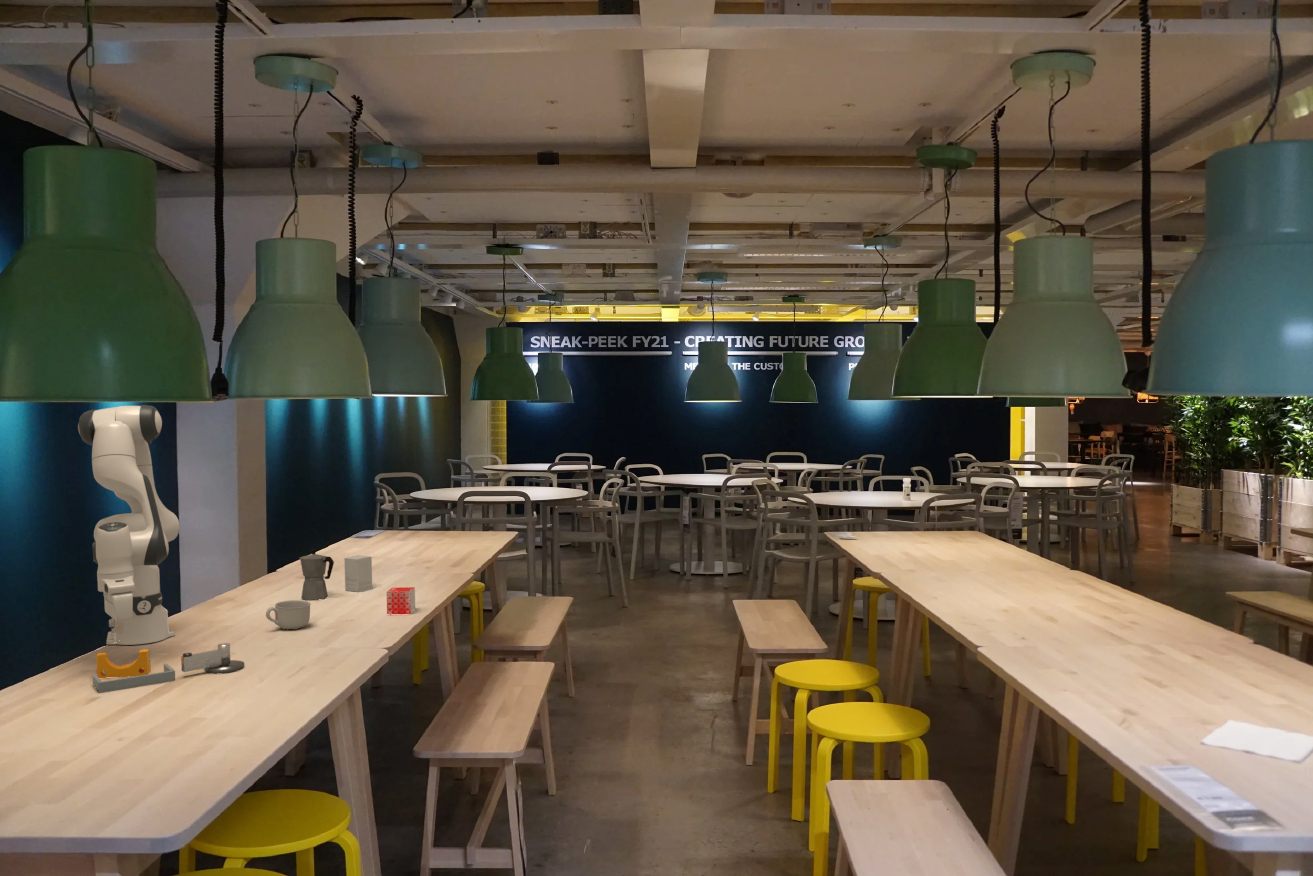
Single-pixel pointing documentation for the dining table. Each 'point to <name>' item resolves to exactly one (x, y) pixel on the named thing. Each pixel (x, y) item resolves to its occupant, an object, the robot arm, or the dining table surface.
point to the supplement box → (358, 573)
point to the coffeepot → (315, 575)
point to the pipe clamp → (124, 670)
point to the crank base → (226, 667)
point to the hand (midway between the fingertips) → (119, 633)
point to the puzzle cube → (401, 600)
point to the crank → (206, 658)
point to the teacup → (290, 614)
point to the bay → (135, 680)
